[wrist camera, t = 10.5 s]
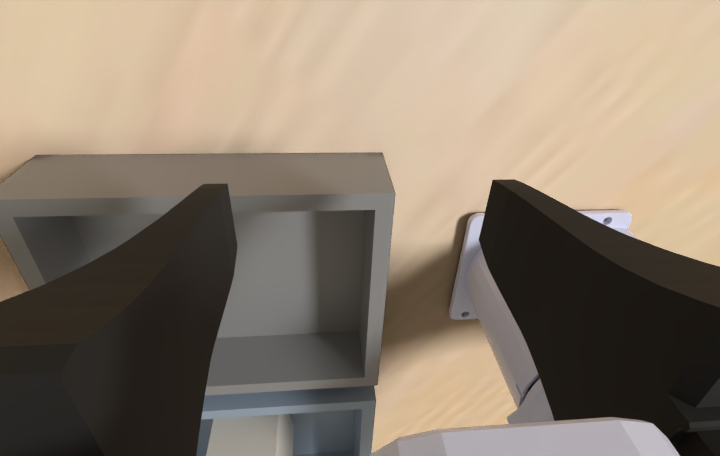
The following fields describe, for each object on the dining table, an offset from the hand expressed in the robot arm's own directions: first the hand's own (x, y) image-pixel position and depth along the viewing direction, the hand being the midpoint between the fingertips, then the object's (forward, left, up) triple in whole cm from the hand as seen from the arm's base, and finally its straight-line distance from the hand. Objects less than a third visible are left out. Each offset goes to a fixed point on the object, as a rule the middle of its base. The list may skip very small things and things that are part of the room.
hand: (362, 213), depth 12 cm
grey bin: (+6, +9, -9) cm, 14 cm away
